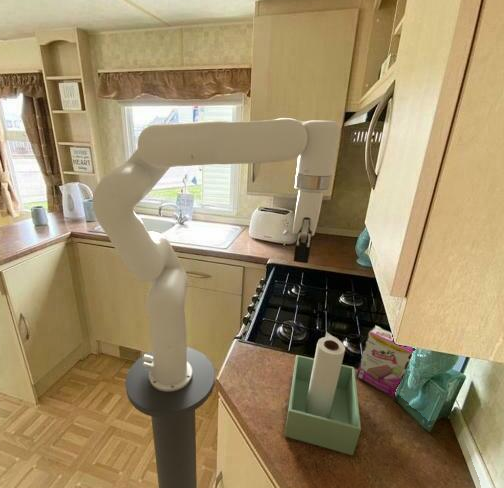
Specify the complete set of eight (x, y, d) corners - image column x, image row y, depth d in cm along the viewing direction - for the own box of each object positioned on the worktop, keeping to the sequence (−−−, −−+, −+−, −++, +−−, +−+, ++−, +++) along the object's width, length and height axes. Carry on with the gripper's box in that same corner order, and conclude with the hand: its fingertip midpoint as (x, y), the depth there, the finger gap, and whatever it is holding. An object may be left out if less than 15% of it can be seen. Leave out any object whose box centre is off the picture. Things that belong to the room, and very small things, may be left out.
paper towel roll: (323, 426, 76) (339, 357, 67) (300, 412, 79) (313, 345, 70) (335, 407, 81) (351, 341, 72) (313, 395, 84) (326, 330, 75)
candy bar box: (355, 377, 91) (367, 331, 84) (362, 369, 94) (375, 324, 87) (395, 400, 84) (412, 352, 77) (402, 390, 87) (419, 343, 80)
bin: (284, 436, 74) (288, 410, 70) (292, 377, 90) (296, 354, 87) (352, 455, 70) (361, 429, 66) (348, 390, 87) (354, 367, 83)
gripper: (298, 175, 77) (290, 240, 84) (291, 188, 62) (282, 266, 69) (330, 177, 75) (319, 243, 82) (330, 191, 60) (316, 271, 67)
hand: (302, 253), depth 76 cm, fingers open, 9 cm apart
